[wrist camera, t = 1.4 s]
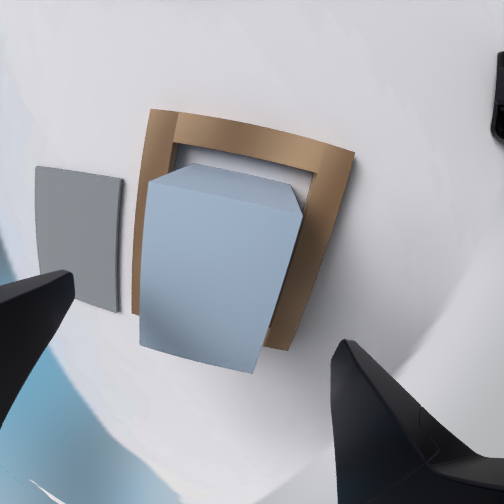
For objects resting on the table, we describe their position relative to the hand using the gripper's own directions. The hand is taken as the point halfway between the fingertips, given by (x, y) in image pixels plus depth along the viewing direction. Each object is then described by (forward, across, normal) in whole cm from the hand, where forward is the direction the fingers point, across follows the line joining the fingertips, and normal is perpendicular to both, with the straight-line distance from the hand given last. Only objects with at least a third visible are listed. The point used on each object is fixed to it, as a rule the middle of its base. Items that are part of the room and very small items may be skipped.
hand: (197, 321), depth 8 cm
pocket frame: (+8, 0, 0) cm, 8 cm away
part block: (+8, 0, 0) cm, 8 cm away
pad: (+8, +10, +3) cm, 13 cm away
